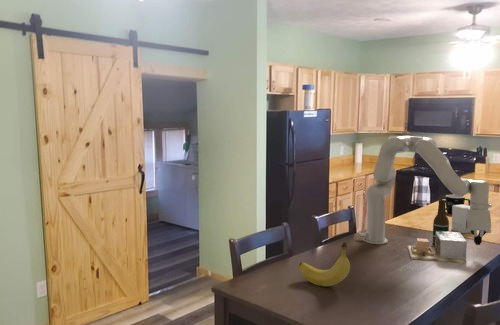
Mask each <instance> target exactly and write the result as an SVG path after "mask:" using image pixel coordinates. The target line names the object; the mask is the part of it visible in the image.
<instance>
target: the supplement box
mask: <svg viewBox="0 0 500 325" xmlns="http://www.w3.org/2000/svg"><path fill="white" fill-rule="evenodd" d="M468 208H470V206H468V205H467V204H464V205H463V204H461V205H453V206H452V214H451V230H452V231H453V232H460V233H461V234H466V233H469V232H466V216H467V210H468Z"/></svg>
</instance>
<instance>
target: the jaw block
mask: <svg viewBox="0 0 500 325" xmlns="http://www.w3.org/2000/svg"><path fill="white" fill-rule="evenodd" d="M429 245H430V241H429V240H428V238H419V237H417V238H416V245H415V246H416V251H417V252H429V247H430V246H429Z"/></svg>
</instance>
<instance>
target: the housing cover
mask: <svg viewBox="0 0 500 325" xmlns="http://www.w3.org/2000/svg"><path fill="white" fill-rule="evenodd" d="M467 245H468V241H467V240H466V238H465V237H464V236H463V235H462V233H461V232H458V231H449V232H446V231H436V242H435V247H434V248H438V249H440V258H448V259H460V260H466V261H467V249H468V248H467Z"/></svg>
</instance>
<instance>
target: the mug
mask: <svg viewBox="0 0 500 325" xmlns="http://www.w3.org/2000/svg"><path fill="white" fill-rule="evenodd" d="M441 199H442V200H446V203H445V211H446V212H447V213H448V212H450V213H449V214H451V213H452V206H453V205H461V204H463V205H465V201H467V204H468V206H470V198H465V195H464V196H456V195H454V194H446V195H445V197H440V198H439V200H441Z"/></svg>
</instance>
